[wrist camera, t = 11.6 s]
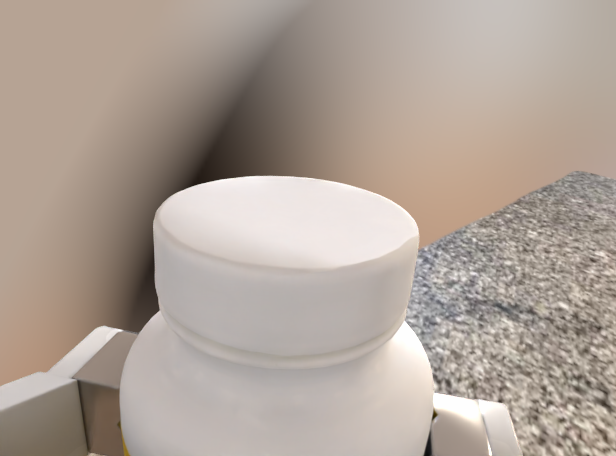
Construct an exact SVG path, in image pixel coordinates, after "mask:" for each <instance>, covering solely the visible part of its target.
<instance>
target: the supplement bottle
mask: <svg viewBox="0 0 616 456" xmlns="http://www.w3.org/2000/svg"><path fill="white" fill-rule="evenodd" d="M153 232H154V254H155V287H156V291H157V295H158V297H159V308H160V311H159V312H158V313H157V314H156V315H155V316H153V317H152V318H151V320H150V321H149V322H148V323H147V324H146V325H145V327H144V328H143V329H142V331H141V332H140V333H139V335H138V336H137V338H136V339H135V341H134V343H133V344H132V347H131V349H130V351H129V354H128V356H127V358H126V361H125V364H124V368H123V372H122V376H121V383H120V400H119V402H120V414H121V433H122V440H123V448H124V456H424V452H425V448H426V444H427V439H428V435H429V431H430V426H431V421H432V415H433V408H434V383H433V376H432V371H431V367H430V364H429V361H428V358H427V355H426V353H425V351H424V349H423V347H422V345H421V342H420V341H419V339H418V338H417V336H416V335H415V333H414V332H413V330H412V329H411V328H410V327H409V325H408V324H407V323H406V322H405V321H404V320H405V317H406V312H407V304H408V302H409V299H410V294H411V288H412V282H413V277H414V270H415V264H416V259H417V253H418V245H419V231H418V227H417V224H416V222H415V221H414V219H413V218H412V217H411V216H410V214H409V213H408V212H407V211H405V210H404V209H403V208H402V207H400V206H399V205H397V204H395V203H394V202H392V201H391V200H389V199H386V198H385V197H383V196H380V195H378V194H375V193H372V192H369V191H367V190H363V189H360V188H357V187H354V186H350V185H346V184H342V183H338V182H333V181H327V180H319V179H312V178H301V177H285V176H284V177H283V176H251V177H239V178H232V179H223V180H218V181H213V182H208V183H203V184H200V185H196V186H193V187H190V188H188V189H185V190H183V191H180V192H178V193H176V194H174V195H172V196H171V197H169V198H168V199H167V200H166V201H165V202H164V203H163V204H162V205H161V206H160V207H159V209H158V210H157V211H156V214H155V218H154V222H153Z"/></svg>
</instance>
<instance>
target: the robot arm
mask: <svg viewBox="0 0 616 456" xmlns="http://www.w3.org/2000/svg"><path fill="white" fill-rule="evenodd" d="M138 335H139V333H135V332H130V331H125V330H119V329H115V328H110V327H106V326H102V327H98V328H96V329H95V330H94V331H92V332H91V333H90V334H89V335H88V336H87V337H86V338H85V339H83V340H82V341H81V342H80V343H79V344H78V345H77V346H76V347H75V348H73V350H71V351H70V352H69V353H68V354H67V355H66V356H65V357H64V358H62V359H61V360H60V361H59V362H58V363H57V364H56V365H55V366H53V367H52V368H51V369H50V370H49V371H48V372H47V373H42V372H37V373H34V374H32V375H29V376H26V377H24V378H21V379H18V380H16V381H13V382H10V383H8V384H5V385H2V386H0V456H87V455H88V452H90V453H95V454H100V455H105V456H124V448H123V440H122V433H121V414H120V402H119V400H120V383H121V376H122V372H123V368H124V364H125V361H126V358H127V356H128V354H129V351H130V349H131V347H132V344H133V343H134V341H135V339H136V338H137V336H138ZM424 456H523V454H522V451H521V448H520V445H519V442H518V439H517V436H516V433H515V430H514V427H513V423H512V420H511V417H510V414H509V411H508V408H507V407H506V406H505V405H504V404H503V403H497V402H491V401H485V400H479V399H477V400H475V399H471V398H465V397H460V396H455V395H449V394H444V393H439V392H434V408H433V415H432V421H431V426H430V431H429V435H428V439H427V444H426V448H425V452H424Z"/></svg>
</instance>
